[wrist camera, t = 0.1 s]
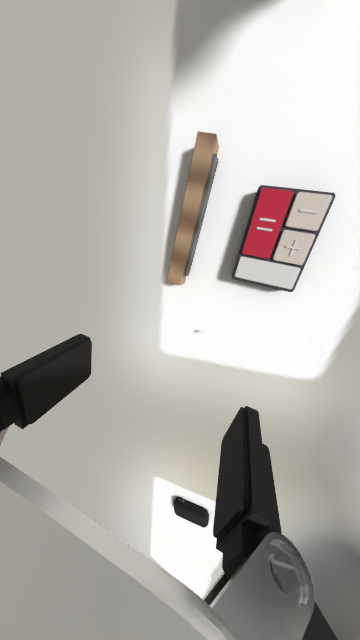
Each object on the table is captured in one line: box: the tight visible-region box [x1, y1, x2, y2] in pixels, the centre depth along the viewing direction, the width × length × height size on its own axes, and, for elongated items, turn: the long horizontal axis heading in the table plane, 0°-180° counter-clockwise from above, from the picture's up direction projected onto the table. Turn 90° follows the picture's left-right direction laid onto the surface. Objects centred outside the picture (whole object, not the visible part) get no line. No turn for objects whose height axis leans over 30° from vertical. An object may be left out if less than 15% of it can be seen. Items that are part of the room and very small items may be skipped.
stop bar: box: [167, 132, 219, 285], centre depth 33 cm, size 24×4×4 cm, turn 166°
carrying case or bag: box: [174, 497, 209, 527], centre depth 71 cm, size 11×3×15 cm
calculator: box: [232, 185, 335, 292], centre depth 30 cm, size 11×4×15 cm
